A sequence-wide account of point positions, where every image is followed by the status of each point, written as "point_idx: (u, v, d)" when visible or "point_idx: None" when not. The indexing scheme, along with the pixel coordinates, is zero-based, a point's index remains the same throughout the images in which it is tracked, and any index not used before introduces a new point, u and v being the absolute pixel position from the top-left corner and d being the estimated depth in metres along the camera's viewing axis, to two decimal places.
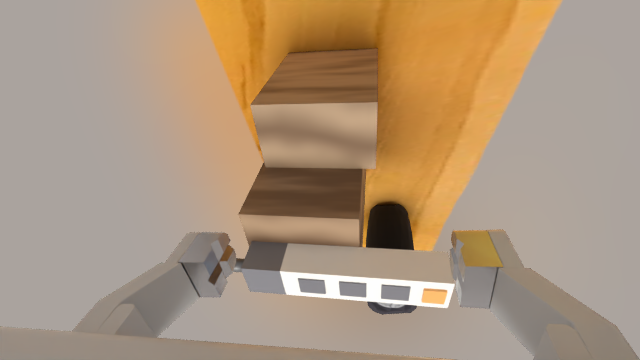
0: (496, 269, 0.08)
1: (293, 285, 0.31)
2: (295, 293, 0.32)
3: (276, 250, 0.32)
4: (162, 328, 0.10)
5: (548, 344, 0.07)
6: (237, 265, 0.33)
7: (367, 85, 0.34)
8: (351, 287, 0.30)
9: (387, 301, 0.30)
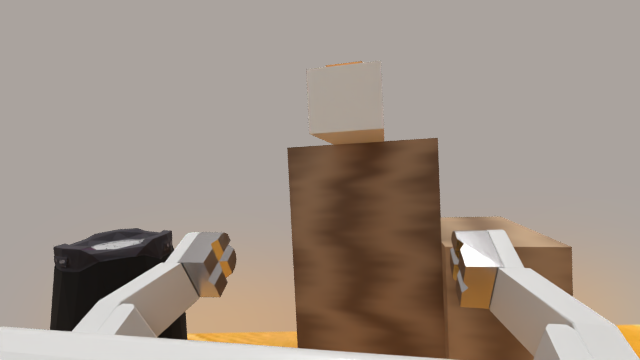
0: (496, 269, 0.08)
1: None
2: None
3: None
4: (162, 328, 0.10)
5: (548, 344, 0.07)
6: None
7: None
8: None
9: None
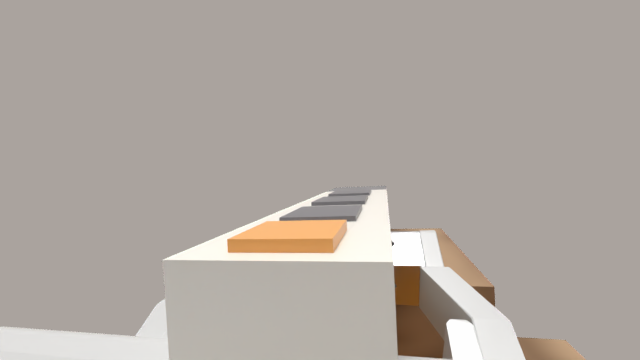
0: (419, 268, 0.09)
1: None
2: (328, 192, 0.20)
3: None
4: None
5: (447, 338, 0.07)
6: None
7: None
8: (351, 197, 0.14)
9: (280, 213, 0.11)
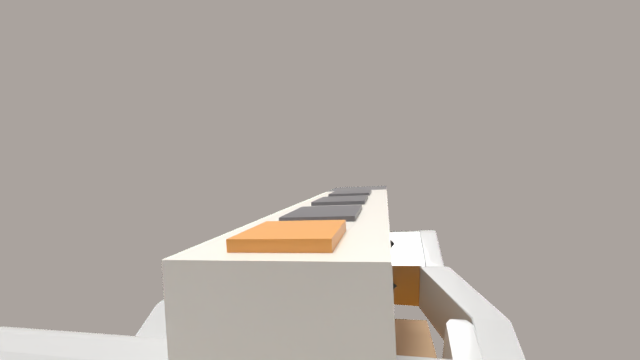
0: (419, 268, 0.09)
1: None
2: (328, 192, 0.20)
3: None
4: None
5: (447, 338, 0.07)
6: None
7: None
8: (351, 197, 0.14)
9: (280, 213, 0.11)
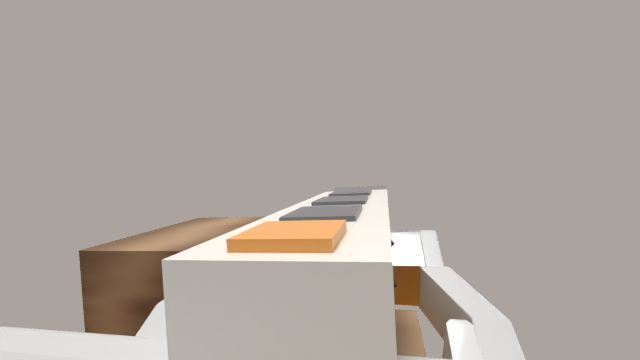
0: (419, 268, 0.09)
1: None
2: (328, 192, 0.20)
3: None
4: None
5: (447, 338, 0.07)
6: None
7: None
8: (352, 197, 0.14)
9: (280, 213, 0.11)
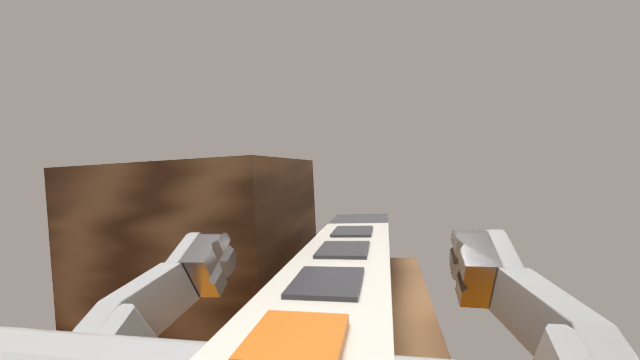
0: (496, 269, 0.08)
1: (352, 226, 0.20)
2: (330, 226, 0.20)
3: None
4: (162, 328, 0.10)
5: (548, 344, 0.07)
6: None
7: None
8: (353, 246, 0.14)
9: (282, 275, 0.11)
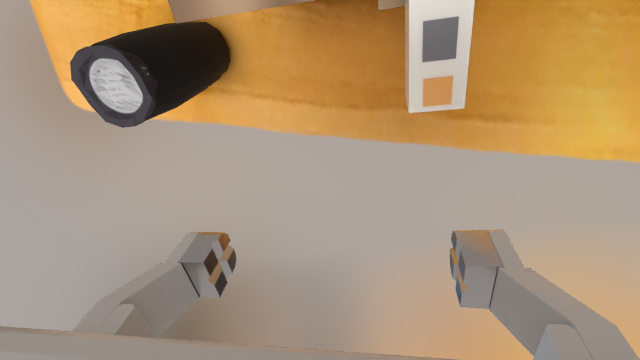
0: (496, 269, 0.08)
1: None
2: None
3: None
4: (162, 328, 0.10)
5: (548, 344, 0.07)
6: None
7: None
8: None
9: (413, 33, 0.21)
